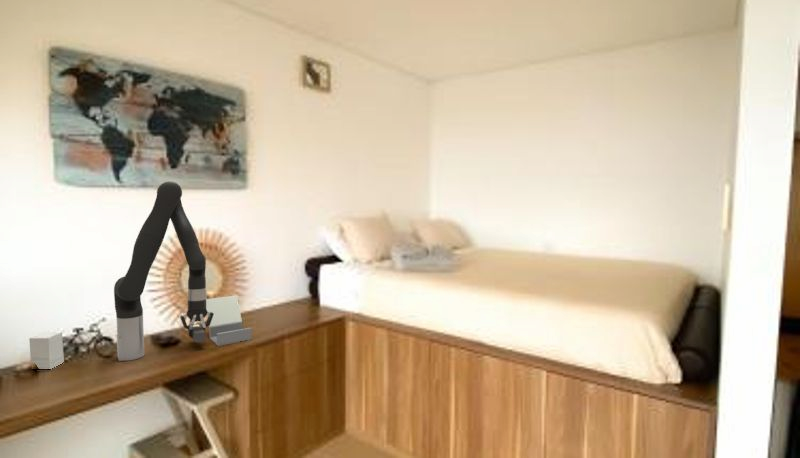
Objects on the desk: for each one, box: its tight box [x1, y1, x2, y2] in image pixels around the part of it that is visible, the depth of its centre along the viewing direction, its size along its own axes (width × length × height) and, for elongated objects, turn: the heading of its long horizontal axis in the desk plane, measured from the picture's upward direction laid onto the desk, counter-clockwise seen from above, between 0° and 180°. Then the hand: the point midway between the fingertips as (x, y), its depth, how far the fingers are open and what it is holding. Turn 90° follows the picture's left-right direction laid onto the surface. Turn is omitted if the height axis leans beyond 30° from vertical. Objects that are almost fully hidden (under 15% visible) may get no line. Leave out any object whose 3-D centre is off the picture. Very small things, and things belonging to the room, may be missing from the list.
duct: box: [208, 321, 253, 347], centre depth 204 cm, size 15×13×5 cm
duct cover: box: [206, 294, 243, 327], centre depth 212 cm, size 15×13×1 cm
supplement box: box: [28, 331, 65, 370], centre depth 169 cm, size 7×7×13 cm
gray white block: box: [191, 323, 207, 343], centre depth 194 cm, size 4×14×4 cm, turn 36°
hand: (197, 336), depth 194 cm, fingers closed on gray white block, 4 cm apart
